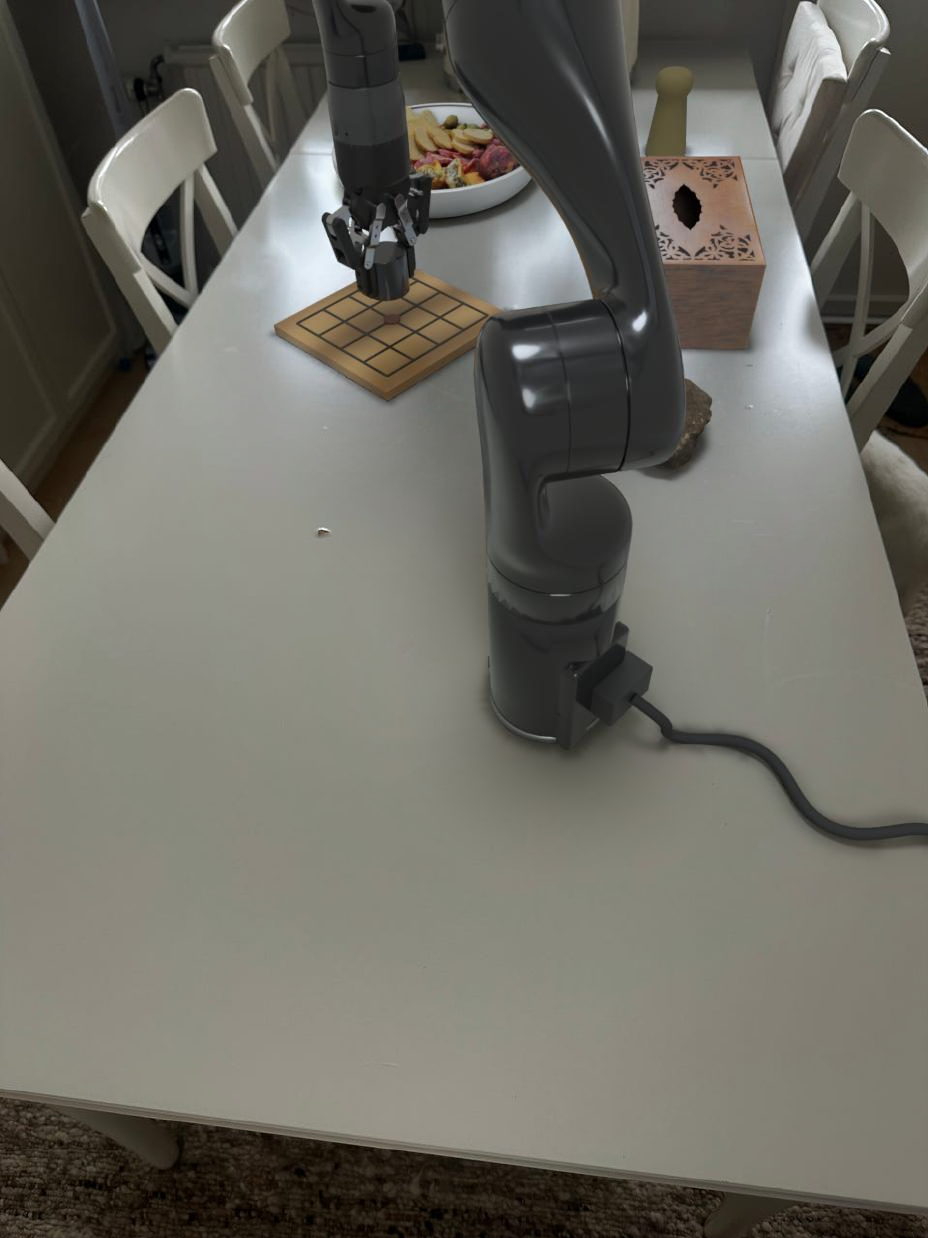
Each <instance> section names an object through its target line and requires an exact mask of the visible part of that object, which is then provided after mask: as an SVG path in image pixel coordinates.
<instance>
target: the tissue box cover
mask: <svg viewBox="0 0 928 1238" xmlns="http://www.w3.org/2000/svg"><path fill="white" fill-rule="evenodd" d="M641 162H642V167H643V172H644V178H645V182H646V187H647V192H648V197H649V201H650V206H651V211H652V215H653V220H654V224H655V229H656V234H657V238H658V243H659V247H660V252H661V256H662V260H663V265H664V269H665V274H666V278H667V283H668V287H669V292H670V296H671V301H672V306H673V311H674V316H675V321H676V326H677V331H678V336H679V341H680V346H681V349H703V350H704V349H705V350H706V349H708V350H709V349H710V350H711V349H712V350H747V348H748V342H749V338H750V334H751V331H752V330H751V329H752V326H753V323H754V319H755V315H756V309H757V306H758V301H759V297H760V293H761V289H762V285H763V281H764V276H765V271H766V268H767V262H766V258H765V254H764V249H763V245H762V241H761V236H760V234H759V229H758V224H757V221H756V216H755V213H754V208H753V205H752V200H751V196H750V192H749V191H750V190H749V188H748V184H747V183H748V182H747V179H746V176H745V171H744V167H743V163H742V159H741V155H726V156H725V155H719V156H718V155H714V156H713V155H708V156H707V155H706V156H705V155H704V156H702V155H701V156H700V155H697V156H696V155H692V156H691V155H690V156H687V155H684V156H665V157H649V156H641Z"/></svg>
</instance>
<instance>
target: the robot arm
mask: <svg viewBox="0 0 928 1238" xmlns="http://www.w3.org/2000/svg"><path fill="white" fill-rule="evenodd" d="M439 2H440V9H441V16H442V23H443V27H444V28H443V29H444V36H445V43H446V49H447V55H448V59H449V62H450V65H451V68H452V71H453V75H454V77H455V79H456V81H457V83H458V85H459V87H460V89H461V91H462V92H463V94H464V95H465V97H466V99H467V100H468V102H469V104H471V105H472V106H473V108H474V109H475V110H476V112H477V113H478V114H479V116H480V117H481V118H482V119H483V121H484V122H485V123H486V124H487V126H488V127H489V128H490V129H491V131H492V132H493V133H494V134H495V136H496V137H497V138H498V139H499V141H500V142H501V143H502V144H503V145H504V146H505V148H506V149H507V150H508V151H509V152H510V153H511V155H512V156H513V157H514V158H515V159H516V160H517V161H518V163H519V164H520V165H521V166H522V167H523V168H524V169H525V171H526V172H527V173H528V174H529V175H530V176H531V177H532V178H531V180H533V181H534V182H535V183H536V185H537V186H538V188H540V190H541V191H542V192H543V194H544V195H545V196H546V198H547V199H548V201H549V202H550V204H551V205H552V206H553V208H554V209H555V211H556V213H557V214H558V216H559V217H560V219H561V220H562V222H563V224H564V225H565V227H566V228H565V229H566V230H567V231H568V233H569V235H570V237H571V240H572V242H573V244H574V246H575V248H576V251H577V253H578V256H579V258H580V262H581V264H582V267H583V270H584V273H585V276H586V279H587V283H588V285H589V290H590V294H591V298H589V299H583V300H575V301H574V300H573V301H567V302H561V303H554V304H553V303H552V304H548V305H547V304H546V305H541V306H540V305H539V306H531V307H526V308H519V309H512V310H507V311H505V312H501V313H498V314H494V315H493V316H491V317H489V318H488V319H487V320H486V321H485V322H484V324H483V326H482V327H481V329H480V332H479V335H478V337H477V341H476V346H475V347H474V353H473V356H474V357H473V382H474V383H473V385H474V399H475V408H476V415H477V416H476V417H477V425H478V427H477V428H478V436H479V444H480V453H481V464H482V486H483V503H484V522H485V523H484V525H485V555H486V556H485V557H486V558H485V559H486V593H487V622H488V623H487V624H488V625H487V626H488V650H489V651H488V652H489V654H488V656H487V667H488V669H489V676H490V678H489V685H488V686H489V688H488V689H489V700H490V701H489V702H490V704H491V707H492V709H493V712H494V714H495V715H496V717H497V718H498V720H499V721H500V722H501V723H502V724H503V726H505V727H506V728H507V729H508V730H510V731H511V732H512V733H514V734H516V735H517V736H519V737H522V738H524V739H526V740H530V741H534V742H537V743H546V744H556V745H558V746H560V747H562V749H564V750H566V751H569V750H571V749H572V748H573V747H574V746H575V745H576V744H577V743H578V742H579V741H580V740H581V739H582V738H583V737H584V736H585V735H586V734H588V732H590V731H591V730H592V729H593V728H595V727H596V726H597V724H598V723H600V721H601V722H603V723H604V724H606V725H607V726H609V727H612V726H614V725H615V724H616V723H617V722H618V721H619V720H620V719H621V718H622V717H623V716H624V715H625V714H626V713H627V712H628V711H629V710H630V709H631V708H632V707H635V709H637V710H638V711H640V712H641V713H642V714H644V715H645V716H646V717H647V718H649V719H650V720H652V721H653V722H654V723H655V724H656V725H657V726H659V727H660V733H661V735H662V737H663V738H664V739H667V740H670V741H672V742H676V743H679V744H684V745H685V744H686V745H709V746H728V747H734V748H739V749H743V750H746V751H748V752H751V753H753V754H755V755H756V756H757V757H759V758H761V759H762V760H763V761H765V763H767V764H768V765H769V766H770V767H771V769H773V772H775V774H776V775H777V776H778V778H779V780H780V781H781V783H782V785H783V786H784V788H785V790H786V791H787V794H788V795H789V796H790V798H791V799H792V801H793V803H794V804H795V806H796V807H797V808H798V810H799V811H800V812H801V813H802V814H803V815H804V817H806V818H807V820H808V821H810V822H811V823H812V824H814V825H815V826H816V827H818V828H819V829H821V830H822V831H824V832H826V833H827V834H831V835H833V836H835V837H837V838H842V839H847V840H850V841H883V840H889V839H897V838H904V837H913V836H923V837H925V836H926V837H928V823H927V822H904V823H897V824H890V825H889V824H888V825H882V826H874V827H873V826H872V827H857V826H848V825H844V824H841V823H838V822H836V821H833V820H832V819H830V818H828V817H827V816H824V815H823V814H822V813H820V811H818V810H817V809H816V808H815V807H814V806H813V805H812V804H811V803H810V801H809V800H808V798H807V797H806V795H805V794H804V793H803V791H802V790H801V788H800V786H799V784H798V783H797V782H796V780H795V778H794V776H793V775H792V773H791V771H790V770H789V768H788V767H787V766H786V765H785V763H784V762H783V761H782V760H781V758H780V757H779V756H778V755H777V754H775V753H774V752H773V751H772V750H771V749H770V748H768V747H766V746H765V745H763V744H761V743H760V742H758V741H756V740H753V739H751V738H748V737H745V736H741V735H736V734H727V733H696V732H695V733H694V732H684V731H679V730H676V729H673V728H674V727H673V723H672V722H671V719H670V718H668V716H666V715H665V714H664V713H663V712H662V711H660V709H658V708H657V707H656V706H654V705H653V704H651V703H650V702H649V701H647V700H646V699H645V698H644V697H643V696H644V695H645V693H647V692H648V691H649V688H650V683H651V680H652V679H651V678H652V674H653V670H654V667H653V666H652V665H651V664H650V663H648V662H647V661H645V660H643V659H642V658H641V657H639V656H638V655H636V654H635V653H633V652H632V651H630V650H627V649H628V641H629V635H630V628H629V626H627V625H626V624H625V623H623V622H621V621H620V614H621V608H622V601H623V595H624V587H625V584H626V583H625V582H626V577H627V576H626V575H627V569H628V562H629V555H630V550H631V544H632V538H633V526H634V524H633V516H632V510H631V507H630V505H629V502H628V500H627V499H626V497H625V496H624V494H623V493H622V491H621V490H620V489H619V488H618V487H617V486H616V485H615V484H614V483H612V482H611V481H610V480H609V479H607V477H605V476H602V475H606V474H607V475H609V474H616V473H619V472H627V471H633V470H639V469H644V468H649V467H655V466H654V465H657V464H661V463H663V462H665V461H667V460H668V459H669V458H670V457H672V455H673V454H674V453H675V452H676V450H677V448H678V446H679V443H680V441H681V439H682V435H683V429H684V424H685V417H686V388H685V378H686V377H685V376H686V375H685V367H684V359H683V352H682V348H681V346H680V341H679V336H678V331H677V326H676V321H675V316H674V311H673V306H672V301H671V296H670V292H669V287H668V283H667V278H666V274H665V269H664V265H663V260H662V256H661V252H660V247H659V243H658V238H657V234H656V229H655V224H654V220H653V215H652V211H651V206H650V201H649V197H648V192H647V187H646V182H645V178H644V172H643V167H642V162H641V157H642V156H641V150H640V143H639V138H638V131H637V124H636V117H635V110H634V102H633V94H632V86H631V77H630V71H629V62H628V61H629V60H628V53H627V45H626V44H627V43H626V35H625V27H624V16H623V7H622V6H623V5H622V0H439ZM310 3H311V6H312V9H313V12H314V16H315V20H316V24H317V28H318V32H319V38H320V43H321V44H320V45H321V50H322V51H321V52H322V58H323V64H324V71H325V77H326V89H327V90H326V91H327V97H326V98H327V109H328V115H329V122H330V129H331V133H332V134H331V135H332V143H333V146H334V149H335V156H336V163H337V169H338V175H339V177H340V180H341V182H342V184H341V185H343V186H342V188H343V196H342V200H341V206H340V207H339V208H337V209H336V211H334V212H333V213H330V212H329V211H325V212H324V213H323V214H322V215H321V223H322V225H323V228H324V231H325V234H326V236H327V238H328V239H327V240H328V241H329V243H330V246H331V250H332V252H333V254H334V257H335V259H336V261H337V263H339V264H341V265H343V266H344V267H347V268H349V269H350V270H352V271H354V275H355V281H356V283H357V288H358V290H359V292H361V293H362V294H363V295H365V296H367V297H369V298H371V299H373V298H375V297H377V296H378V291H377V283H376V275H375V268H374V266H372V265H373V259H374V252H375V248H376V247H378V245H379V242H380V239H381V233H382V232H384V230H386V229H387V228H390V229H391V232H392V234H393V236H394V238H395V239H396V240H397V241H396V242H397V243H400V244H402V245H403V246H404V247H405V248H406V252H407V263H408V273H409V279H410V278H412V277H413V276H414V270H415V268H417V261H416V250H415V245H416V244H417V242H418V237H419V236H420V235H426V233H428V230H429V221H430V220H429V219H430V218H429V210H430V198H431V187H432V179H431V178H430V177H428V176H426V175H424V174H422V173H419V172H416V171H411V172H410V170H411V162H410V151H409V139H408V128H407V117H406V106H407V105H406V97H405V92H404V87H403V82H402V76H401V71H400V58H399V47H398V46H399V45H398V35H397V24H396V17H395V12H394V9H393V7H392V5H391V4H390V3H389V1H387V0H310ZM409 173H410V174H409ZM406 200H407V208H406ZM417 210H418V212H419V214H418V218H416V216H417ZM350 219H351V220H350ZM364 231H365V232H367V233H368V234H367V233H365V232H364ZM363 249H364V250H363ZM362 251H363V254H362Z"/></svg>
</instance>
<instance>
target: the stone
mask: <svg viewBox="0 0 928 1238" xmlns="http://www.w3.org/2000/svg"><path fill="white" fill-rule="evenodd" d="M685 388H686V417H685V424H684V429H683V435H682V439H681V441H680V443H679V446H678V448H677V450H676V452H675V453H674V454H673V455H672V457H670V458H669V459H668V460H667V461H665V462H663V463H661V464H657V465H654V466H653V467H657V468H666V469H669V470H676V469H678V468H681V467H682V466H684V465H687V464H688V463H689V462H690V461H691V459H692V456H693V452H694V450H695V449H696V447H697V445H698V444H699V439H700V436H701V435H702V433H703V432H704V429H705V427H706V426H707V425H708V424H709V422H710V421H711V420H712V419H711V418H712V417H713V414H712V413H713V411H712V410H711V407H712V405H713V397H712V396H711V395H709V394H708V392H706V391H705V390H703V389H702V388H700V387H699V386H698V385H697V384H696V383H695V382H693V380H691V379H689V378H686V377H685Z"/></svg>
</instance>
